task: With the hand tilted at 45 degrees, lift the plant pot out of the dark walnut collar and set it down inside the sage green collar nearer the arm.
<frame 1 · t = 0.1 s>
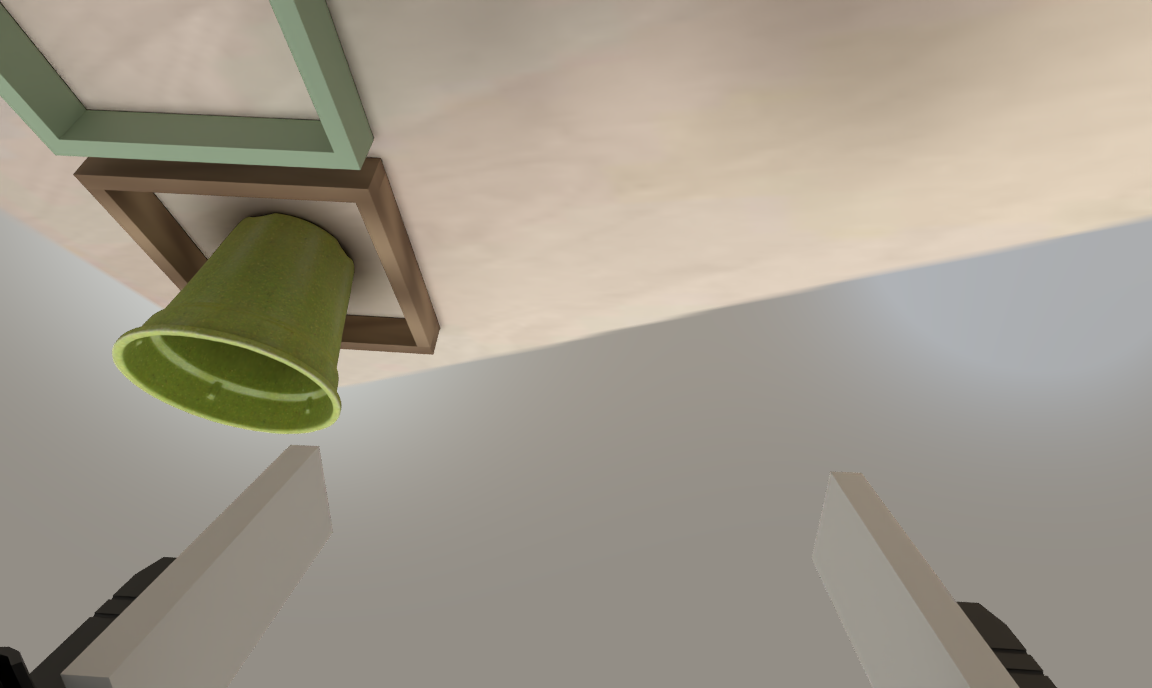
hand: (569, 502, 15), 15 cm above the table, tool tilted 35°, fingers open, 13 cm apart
walnut collar: (297, 251, 31), on the table
plant pot: (299, 248, 31), resting in walnut collar
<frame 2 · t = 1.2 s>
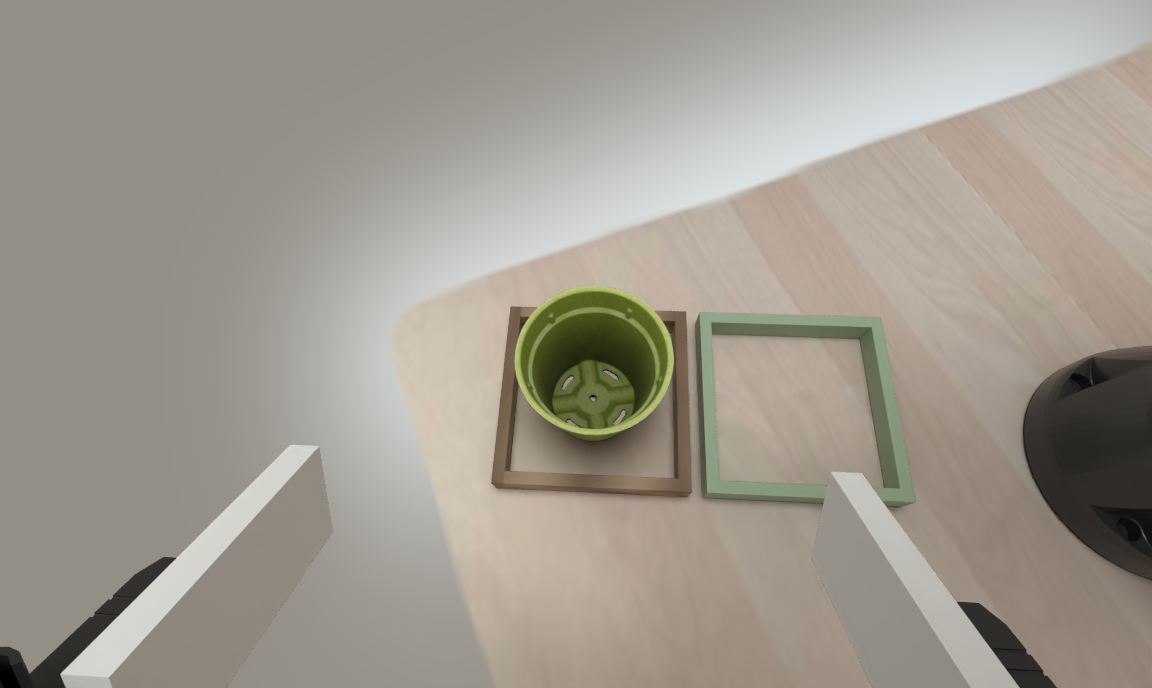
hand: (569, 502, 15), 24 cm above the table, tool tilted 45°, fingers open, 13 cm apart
sage green collar: (790, 408, 40), on the table
walnut collar: (594, 401, 41), on the table
plant pot: (594, 402, 41), resting in walnut collar
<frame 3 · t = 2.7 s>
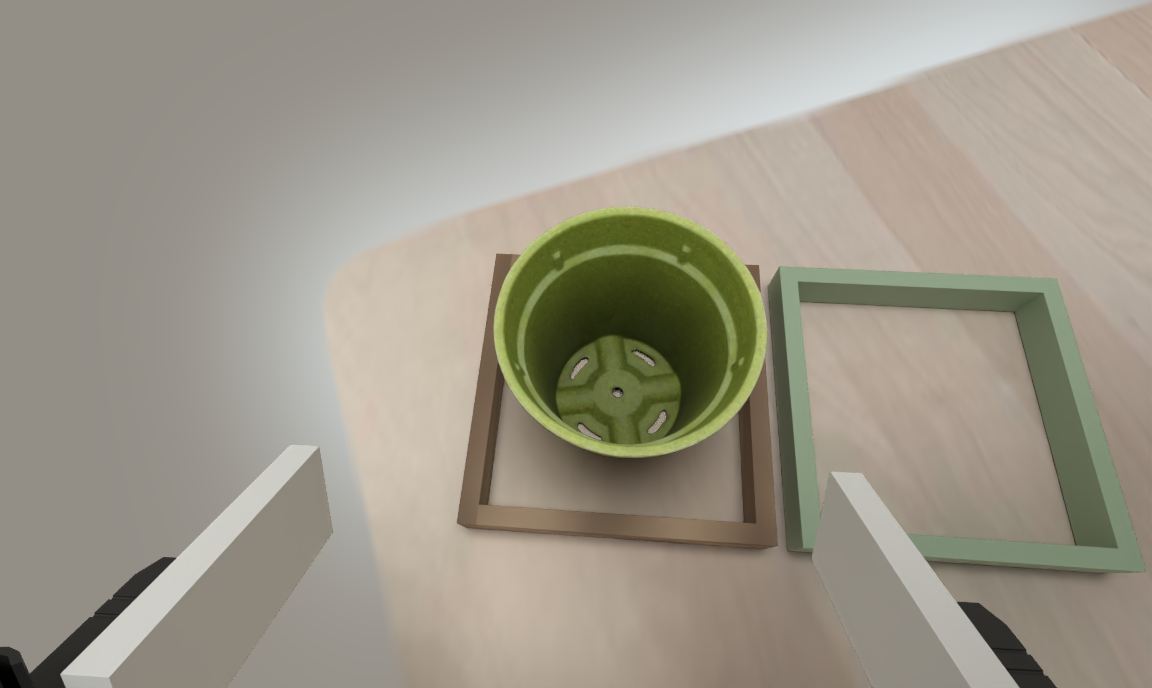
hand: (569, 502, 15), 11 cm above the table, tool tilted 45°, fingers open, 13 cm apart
sage green collar: (917, 414, 26), on the table
walnut collar: (619, 396, 27), on the table
plant pot: (618, 398, 27), resting in walnut collar
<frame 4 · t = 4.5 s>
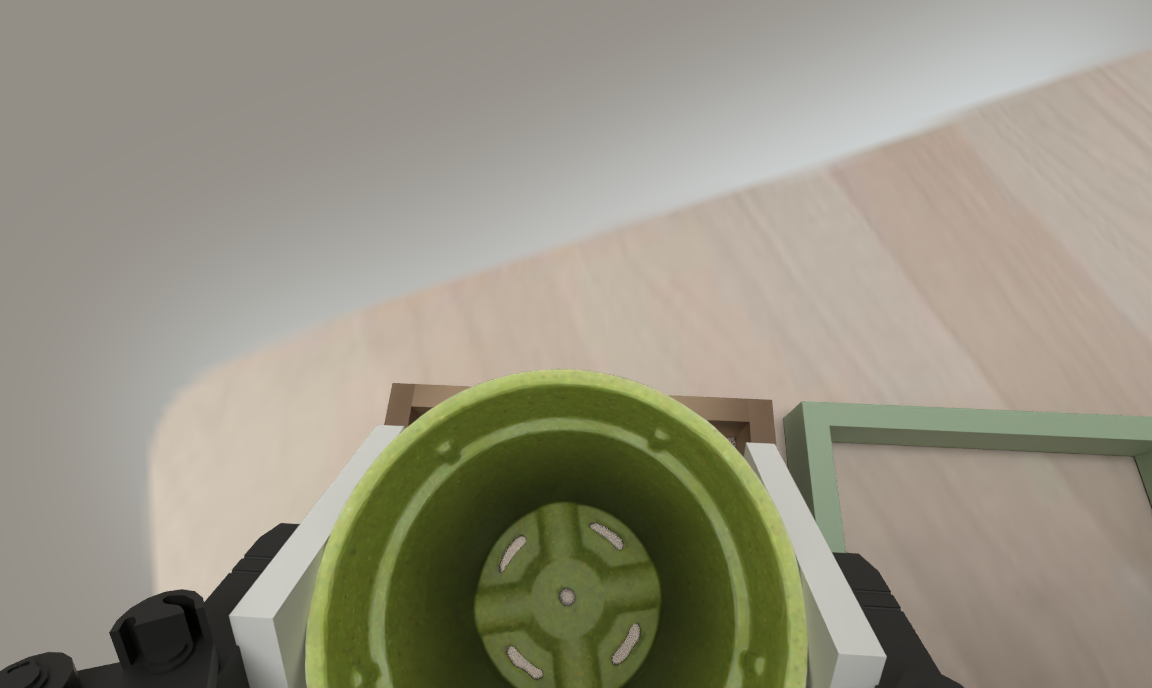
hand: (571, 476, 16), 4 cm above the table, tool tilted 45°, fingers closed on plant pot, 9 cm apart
sage green collar: (1010, 625, 18), on the table
walnut collar: (570, 599, 18), on the table
plant pot: (570, 598, 19), resting in walnut collar, touching gripper
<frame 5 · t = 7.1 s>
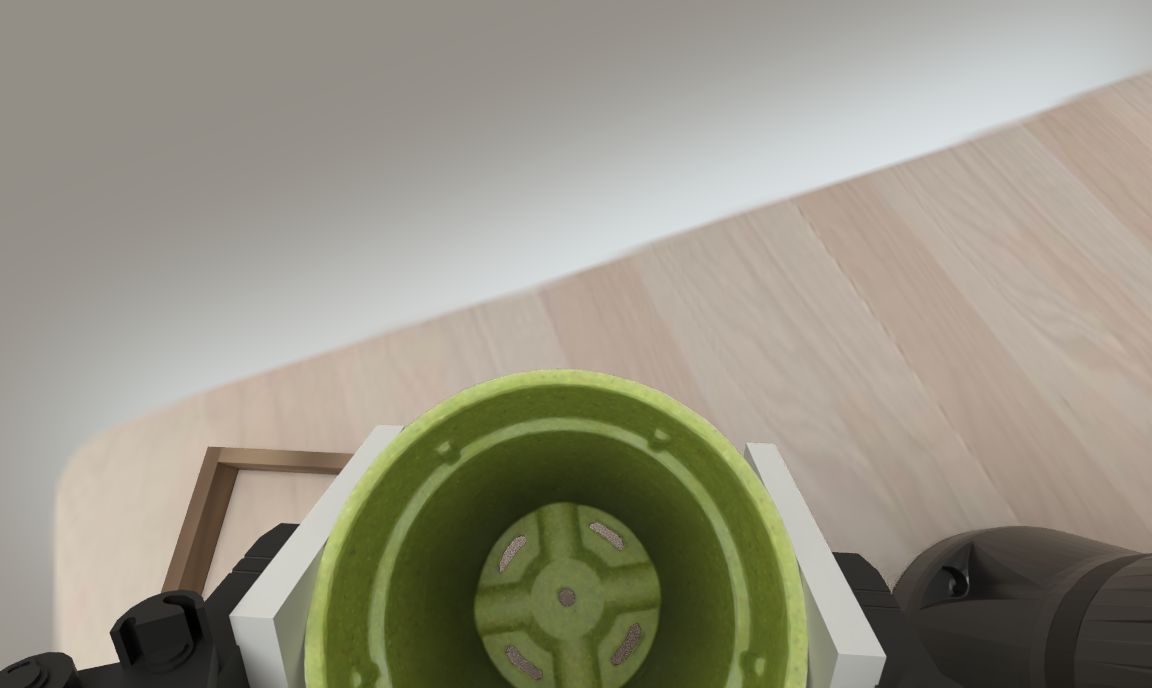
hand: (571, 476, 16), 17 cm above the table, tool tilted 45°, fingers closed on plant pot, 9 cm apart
walnut collar: (311, 581, 30), on the table
plant pot: (570, 599, 19), point 12 cm above the table, touching gripper
when the fingers open (6 cm above the table, at t = 9.7 s): plant pot drops 1 cm, resting in sage green collar.
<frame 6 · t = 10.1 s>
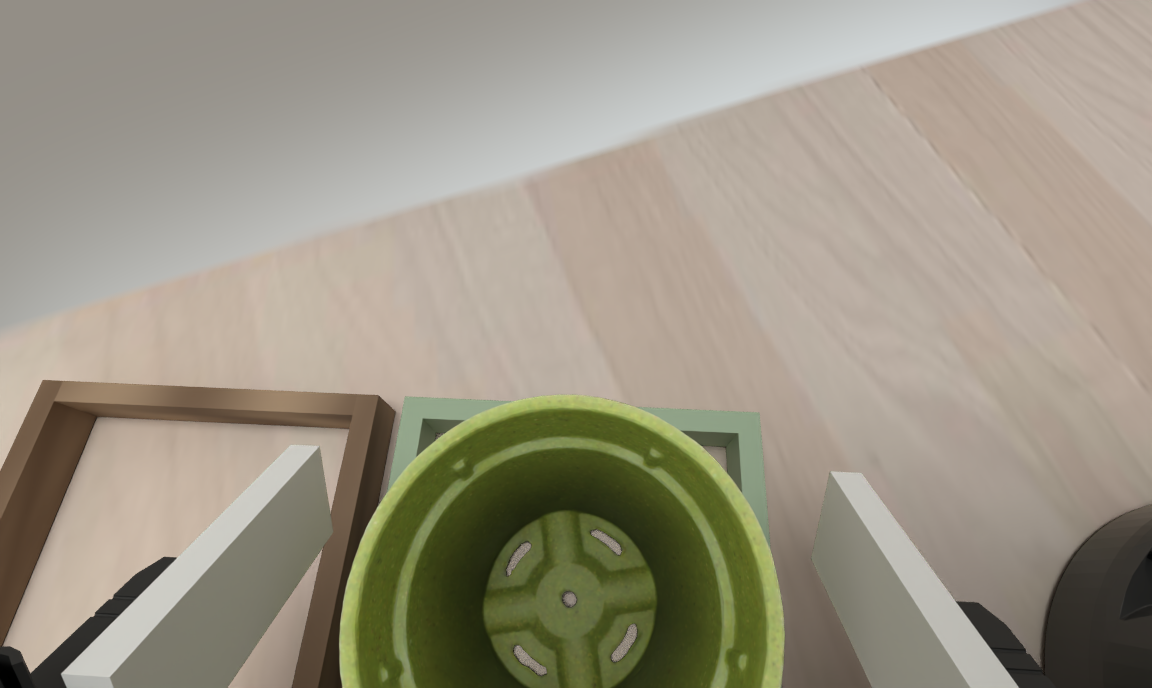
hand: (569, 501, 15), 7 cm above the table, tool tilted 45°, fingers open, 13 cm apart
sage green collar: (571, 598, 20), on the table
walnut collar: (185, 575, 20), on the table
plant pot: (572, 601, 20), resting in sage green collar
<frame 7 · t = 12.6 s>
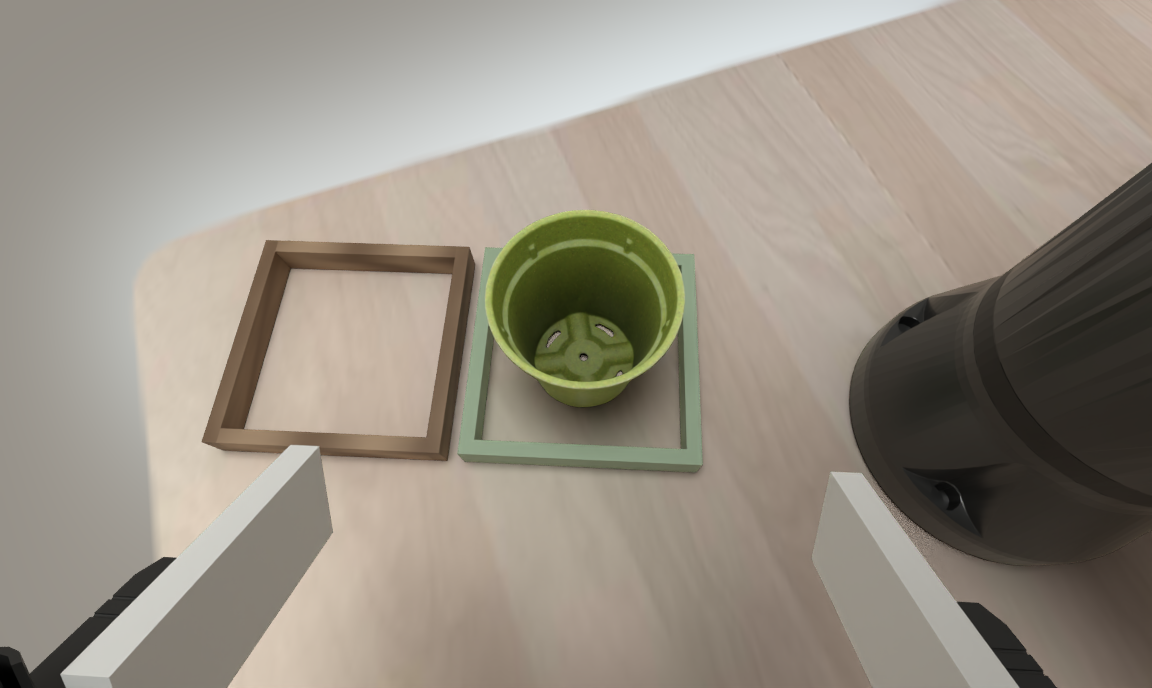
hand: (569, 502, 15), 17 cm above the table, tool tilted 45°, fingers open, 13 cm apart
sage green collar: (584, 359, 34), on the table
walnut collar: (357, 350, 35), on the table
plant pot: (585, 362, 34), resting in sage green collar
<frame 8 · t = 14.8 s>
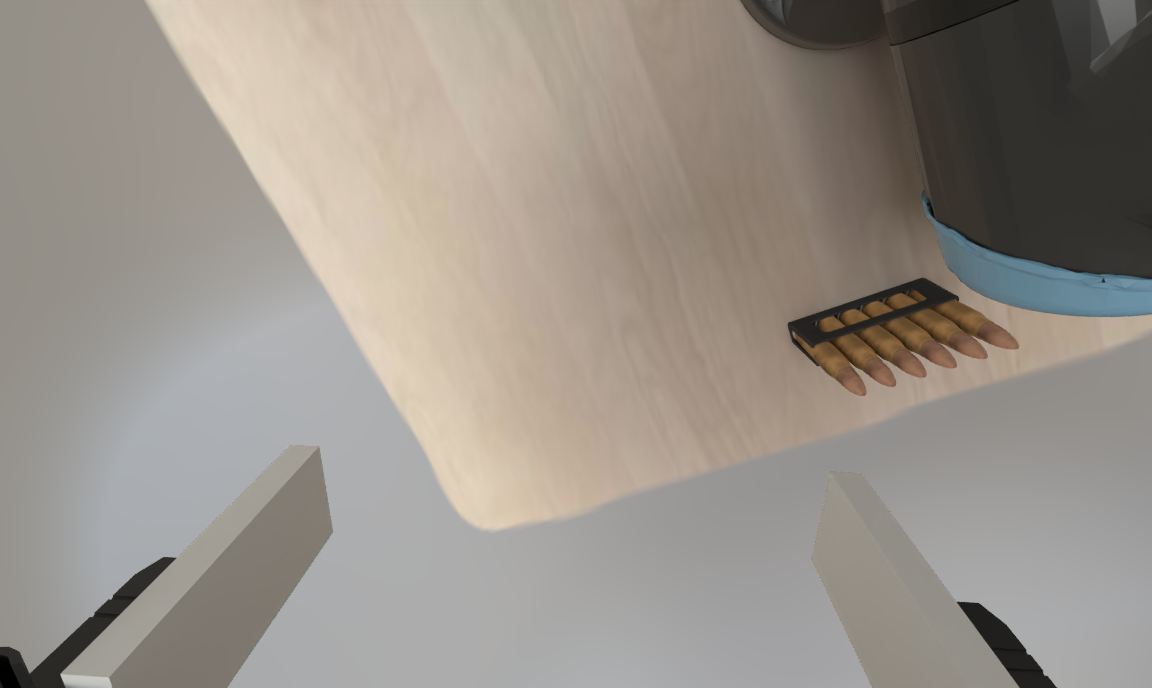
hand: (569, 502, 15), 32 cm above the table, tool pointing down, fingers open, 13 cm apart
ammunition clip: (855, 310, 45), on the table
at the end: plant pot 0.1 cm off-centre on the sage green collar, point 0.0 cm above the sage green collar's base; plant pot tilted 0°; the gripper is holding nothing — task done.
